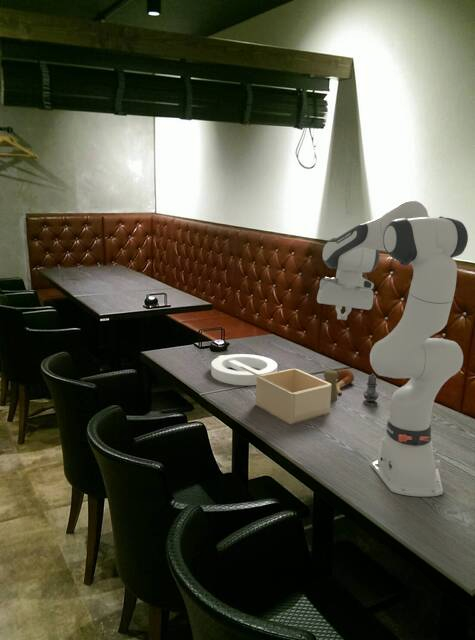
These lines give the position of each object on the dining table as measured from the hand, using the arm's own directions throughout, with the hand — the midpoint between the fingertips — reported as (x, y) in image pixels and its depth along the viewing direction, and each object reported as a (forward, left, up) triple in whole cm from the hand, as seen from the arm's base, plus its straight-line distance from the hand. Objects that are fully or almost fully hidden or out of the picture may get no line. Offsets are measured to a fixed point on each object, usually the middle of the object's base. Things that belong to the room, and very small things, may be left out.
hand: (341, 319), depth 197 cm
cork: (+10, +1, -34) cm, 35 cm away
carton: (-2, +16, -34) cm, 37 cm away
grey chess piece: (+7, -14, -34) cm, 37 cm away
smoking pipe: (+23, -7, -34) cm, 42 cm away
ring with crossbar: (+35, +34, -34) cm, 60 cm away
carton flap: (-7, +23, -22) cm, 33 cm away
